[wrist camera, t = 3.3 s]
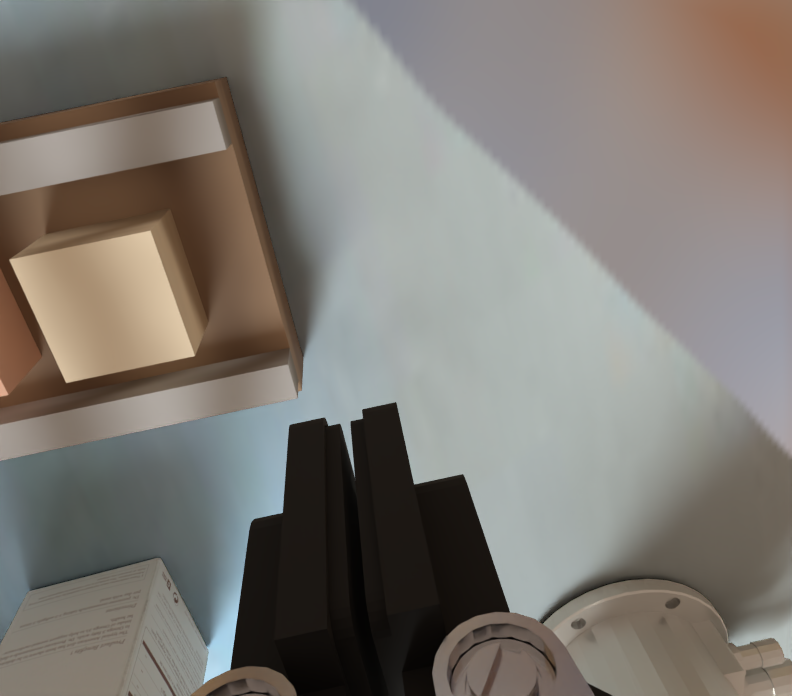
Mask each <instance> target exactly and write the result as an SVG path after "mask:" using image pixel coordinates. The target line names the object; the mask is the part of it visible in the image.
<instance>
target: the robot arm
mask: <svg viewBox="0 0 792 696" xmlns="http://www.w3.org/2000/svg"><path fill="white" fill-rule="evenodd" d="M362 413H363V419H360V420H355V421H351V434H352V446H353V457H354V469H355V477H354V473H353V469H352V465H351V462H350V458H349V454H348V450H347V446H346V442H345V438H344V435H343V431H342V428H341V425H340V424H336V425H332V426H328V424H327V421H326V419H325V418H320V419H315V420H311V421H306V422H301V423H297V424H292V425H290V426H289V435H288V449H287V463H286V477H285V492H284V506H283V513H281V514H276V515H271V516H267V517H262V518H257V519H254V520H253V521H252V522H251V526H250V530H249V537H248V544H247V552H246V559H245V566H244V574H243V581H242V589H241V596H240V603H239V611H238V618H237V625H236V633H235V640H234V647H233V655H232V662H231V669H230V670H229V671H227V672H225V673H223V674H221V675H219V676H217V677H215V678H213V679H211V680H209V681H207V682H206V683H205V684H204V685H202V686H201V687H200V688H199V689H197V690H196V691H195V692H194V693H192V694H191V695H190V696H792V661H791V660H790V659H787V658H784V654H783V651H782V648H781V647H780V645H779V643H778V642H777V641H776V640H775V639H774V638H769V639H764V640H760V641H755V642H750V644H747V645H743V646H738V647H736V646H735V645H734V644H733V643H729V641H728V634H727V629H726V627H725V625H724V622H723V620H722V618H721V616H720V615H719V614H718V612H717V611H716V610H715V608H714V607H713V605H712V604H711V603H710V601H709V600H707V599H706V598H705V597H704V596H703V595H702V594H700V593H699V592H698V591H696V590H694V589H692V588H690V587H688V586H686V585H683V584H679V583H675V582H672V581H668V580H657V579H639V580H627V581H622V582H618V583H613V584H608V585H605V586H603V587H600V588H597V589H594V590H592V591H589V592H587V593H585V594H583V595H581V596H579V597H577V598H575V599H573V600H572V601H570V602H568V603H567V604H566V605H564V606H563V607H561V608H560V609H559V610H557V611H556V612H554V613H553V614H552V615H551V616H550V617H549V618H548V619H547V620H546V621H545V622H544V623H543V624H542V623H540V622H538V621H537V620H535V619H533V618H530V617H527V616H524V615H520V614H517V613H510V611H509V608H508V605H507V602H506V599H505V596H504V593H503V590H502V587H501V584H500V581H499V578H498V575H497V572H496V569H495V566H494V563H493V560H492V557H491V554H490V551H489V548H488V545H487V542H486V539H485V536H484V533H483V530H482V527H481V524H480V521H479V518H478V515H477V512H476V509H475V506H474V503H473V500H472V497H471V494H470V491H469V488H468V485H467V482H466V480H465V477H464V475H463V474H462V475H457V476H452V477H448V478H443V479H439V480H434V481H429V482H425V483H420V484H415V485H414V483H413V478H412V473H411V469H410V464H409V459H408V455H407V450H406V445H405V441H404V436H403V432H402V427H401V422H400V418H399V413H398V408H397V404H396V402H395V403H391V404H386V405H381V406H376V407H372V408H367V409H363V410H362ZM355 480H356V481H355Z"/></svg>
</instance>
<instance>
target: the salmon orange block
mask: <svg viewBox="0 0 792 696" xmlns="http://www.w3.org/2000/svg"><path fill="white" fill-rule="evenodd" d="M41 358H42V356H41V353H40V351H39V349H38V347H37V345H36V343H35V341H34V339H33V337H32V334H31V332H30V330H29V328H28V326H27V324H26V322H25V320H24V317H23V315H22V313H21V311H20V309H19V307H18V305H17V303H16V300H15V298H14V296H13V294H12V292H11V290H10V288H9V286H8V284H7V281H6V279H5V277H4V275H3V273H2V271H1V269H0V397H2V396H6V395H9V394H10V393H11V392H12V391H13V389H14V388H15V387H16V386H17V385H18V384H19V383H20V382H21V380H22V379H23V378H24V377H25V376H26V375H27V374H28V372H29V371H30V370H31V369H32V368H33V367H34V366H35V364H36V363H37V362H38V361H39V360H40V359H41Z"/></svg>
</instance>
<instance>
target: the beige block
mask: <svg viewBox="0 0 792 696" xmlns="http://www.w3.org/2000/svg"><path fill="white" fill-rule="evenodd" d="M9 261H10V263H11V265H12V267H13V269H14V271H15V274H16V276H17V278H18V280H19V282H20V284H21V286H22V289H23V291H24V293H25V295H26V297H27V299H28V302H29V304H30V306H31V308H32V310H33V312H34V315H35V317H36V319H37V321H38V323H39V325H40V328H41V330H42V332H43V334H44V336H45V338H46V341H47V343H48V345H49V347H50V349H51V351H52V353H53V356H54V358H55V360H56V362H57V364H58V366H59V369H60V371H61V373H62V375H63V377H64V379H65V382H66V383H69V382H73V381H78V380H83V379H88V378H92V377H97V376H102V375H107V374H112V373H116V372H121V371H126V370H131V369H136V368H140V367H145V366H150V365H155V364H159V363H164V362H169V361H174V360H179V359H183V358H188V357H193V356H195V355H196V352H197V350H198V347H199V345H200V342H201V340H202V337H203V335H204V332H205V330H206V327H207V325H208V319H207V317H206V314H205V311H204V308H203V305H202V302H201V299H200V296H199V293H198V290H197V287H196V284H195V281H194V278H193V275H192V272H191V269H190V266H189V263H188V260H187V257H186V254H185V251H184V248H183V245H182V242H181V239H180V236H179V233H178V230H177V227H176V224H175V221H174V218H173V215H172V213H171V210H170V209H166V210H161V211H156V212H151V213H146V214H141V215H136V216H132V217H127V218H122V219H117V220H112V221H107V222H102V223H97V224H93V225H88V226H83V227H78V228H73V229H68V230H63V231H58V232H54V233H49V234H45V235H43V236H42V237H41V238H39V239H38V240H36V241H35V242H34V243H32V244H31V245H29V246H28V247H26V248H25V249H24V250H22V251H21V252H19V253H18V254H16V255H15V256H14V257H12V258H11V259H9Z"/></svg>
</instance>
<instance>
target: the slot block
mask: <svg viewBox="0 0 792 696" xmlns="http://www.w3.org/2000/svg"><path fill="white" fill-rule="evenodd" d="M166 209H170V210H171V213H172V215H173V218H174V221H175V224H176V227H177V230H178V233H179V236H180V239H181V242H182V245H183V248H184V251H185V254H186V257H187V260H188V263H189V266H190V269H191V272H192V275H193V278H194V281H195V284H196V287H197V290H198V293H199V296H200V299H201V302H202V305H203V308H204V311H205V314H206V317H207V319H208V325H207V327H206V330H205V332H204V335H203V337H202V340H201V342H200V345H199V347H198V350H197V352H196V355H195V356H193V357H188V358H183V359H179V360H174V361H169V362H164V363H159V364H155V365H150V366H145V367H140V368H136V369H131V370H126V371H121V372H116V373H112V374H107V375H102V376H97V377H92V378H88V379H83V380H78V381H73V382H69V383H66V382H65V379H64V377H63V375H62V373H61V371H60V369H59V366H58V364H57V362H56V360H55V358H54V356H53V353H52V351H51V349H50V347H49V345H48V343H47V341H46V338H45V336H44V334H43V332H42V330H41V328H40V325H39V323H38V321H37V319H36V317H35V315H34V312H33V310H32V308H31V306H30V304H29V302H28V299H27V297H26V295H25V293H24V291H23V289H22V286H21V284H20V282H19V280H18V278H17V276H16V274H15V271H14V269H13V267H12V265H11V263H10V261H9V259H11V258H12V257H14V256H15V255H16V254H18V253H19V252H21V251H22V250H24V249H25V248H26V247H28V246H29V245H31V244H32V243H34V242H35V241H36V240H38V239H39V238H41V237H42V236H43V235H45V234H49V233H54V232H58V231H63V230H68V229H73V228H78V227H83V226H88V225H93V224H97V223H102V222H107V221H112V220H117V219H122V218H127V217H132V216H136V215H141V214H146V213H151V212H156V211H161V210H166ZM0 269H1V271H2V273H3V275H4V277H5V279H6V281H7V284H8V286H9V288H10V290H11V292H12V294H13V296H14V298H15V300H16V303H17V305H18V307H19V309H20V311H21V313H22V315H23V317H24V320H25V322H26V324H27V326H28V328H29V330H30V332H31V334H32V337H33V339H34V341H35V343H36V345H37V347H38V349H39V351H40V353H41V356H42V358H41V359H40V360H39V361H38V362H37V363H36V364H35V366H34V367H33V368H32V369H31V370H30V371H29V372H28V374H27V375H26V376H25V377H24V378H23V379H22V380H21V382H20V383H19V384H18V385H17V386H16V387H15V388H14V389H13V391H12V392H11V393H10V394H9V395H6V396H2V397H0V461H2V460H7V459H11V458H16V457H21V456H26V455H30V454H35V453H40V452H45V451H49V450H54V449H59V448H64V447H68V446H73V445H78V444H83V443H87V442H92V441H97V440H102V439H106V438H111V437H116V436H121V435H125V434H130V433H135V432H140V431H144V430H149V429H154V428H159V427H163V426H168V425H173V424H178V423H182V422H187V421H192V420H197V419H201V418H206V417H211V416H216V415H220V414H225V413H230V412H235V411H239V410H244V409H249V408H254V407H258V406H263V405H268V404H273V403H277V402H282V401H287V400H292V399H296V398H298V391H302V376H303V355H302V352H301V348H300V344H299V341H298V337H297V333H296V330H295V326H294V322H293V319H292V315H291V311H290V308H289V304H288V300H287V297H286V293H285V289H284V286H283V282H282V279H281V275H280V271H279V268H278V264H277V260H276V257H275V253H274V249H273V246H272V242H271V238H270V235H269V231H268V227H267V224H266V220H265V216H264V213H263V209H262V205H261V202H260V198H259V194H258V191H257V187H256V183H255V180H254V176H253V173H252V169H251V165H250V162H249V158H248V154H247V151H246V147H245V143H244V140H243V136H242V132H241V129H240V125H239V121H238V118H237V114H236V110H235V107H234V103H233V99H232V96H231V92H230V88H229V85H228V81H227V77H224V78H219V79H214V80H209V81H204V82H199V83H194V84H189V85H184V86H180V87H175V88H170V89H165V90H160V91H155V92H150V93H145V94H140V95H135V96H130V97H125V98H120V99H115V100H110V101H105V102H100V103H95V104H90V105H85V106H80V107H76V108H71V109H66V110H61V111H56V112H51V113H46V114H41V115H36V116H31V117H26V118H21V119H16V120H11V121H6V122H1V123H0Z"/></svg>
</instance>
